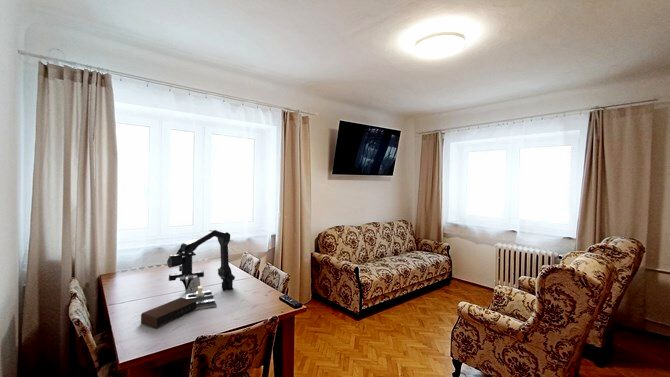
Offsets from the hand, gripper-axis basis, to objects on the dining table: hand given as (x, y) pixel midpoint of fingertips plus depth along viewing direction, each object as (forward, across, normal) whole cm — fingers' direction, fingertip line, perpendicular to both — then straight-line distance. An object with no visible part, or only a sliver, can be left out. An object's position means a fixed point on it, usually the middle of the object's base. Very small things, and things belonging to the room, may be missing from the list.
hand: (186, 289), depth 172 cm
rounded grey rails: (+8, -8, +12) cm, 16 cm away
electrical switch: (+8, -3, -18) cm, 20 cm away
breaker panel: (+8, -7, 0) cm, 11 cm away
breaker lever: (+6, -7, 0) cm, 9 cm away
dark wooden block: (+9, +8, +17) cm, 20 cm away
